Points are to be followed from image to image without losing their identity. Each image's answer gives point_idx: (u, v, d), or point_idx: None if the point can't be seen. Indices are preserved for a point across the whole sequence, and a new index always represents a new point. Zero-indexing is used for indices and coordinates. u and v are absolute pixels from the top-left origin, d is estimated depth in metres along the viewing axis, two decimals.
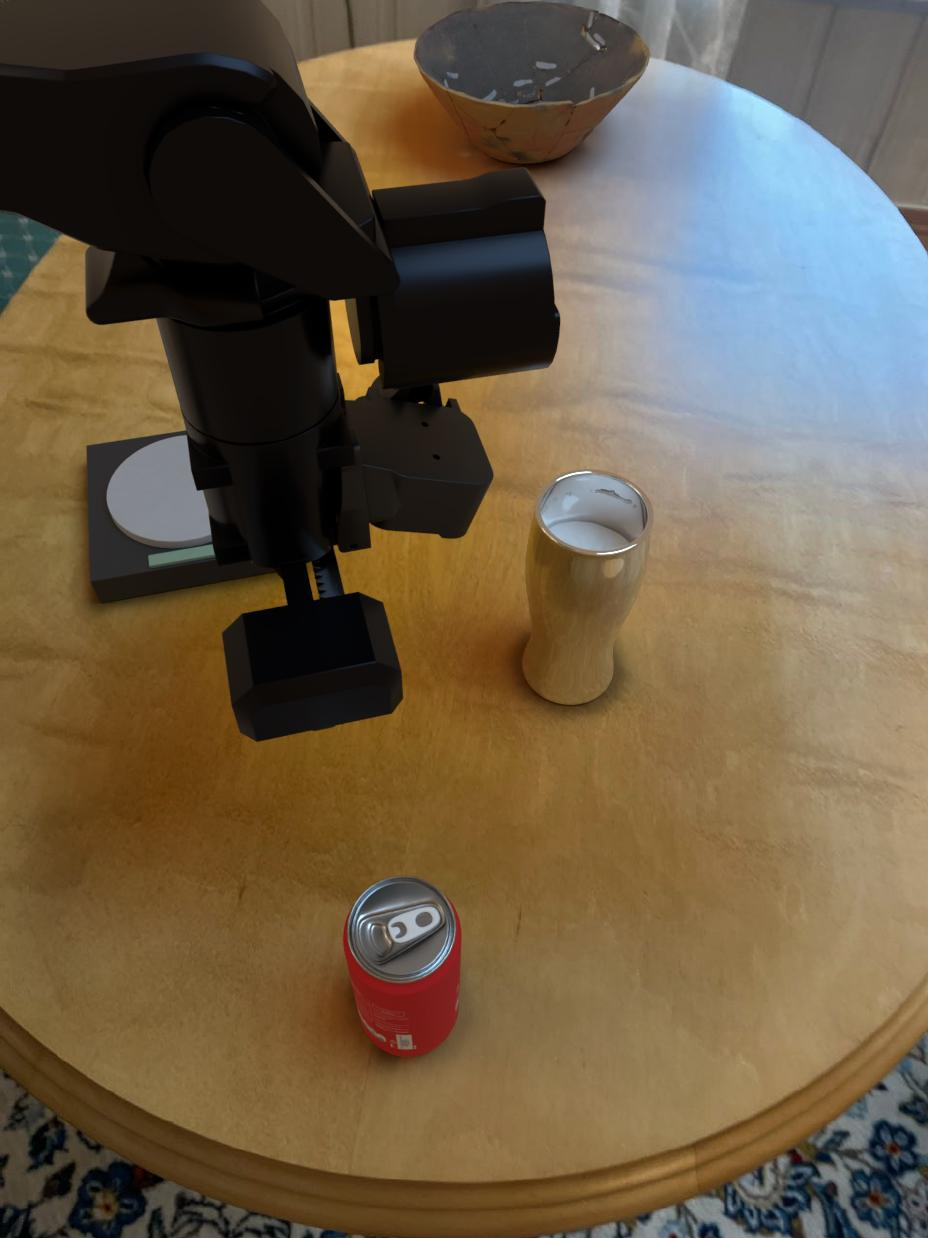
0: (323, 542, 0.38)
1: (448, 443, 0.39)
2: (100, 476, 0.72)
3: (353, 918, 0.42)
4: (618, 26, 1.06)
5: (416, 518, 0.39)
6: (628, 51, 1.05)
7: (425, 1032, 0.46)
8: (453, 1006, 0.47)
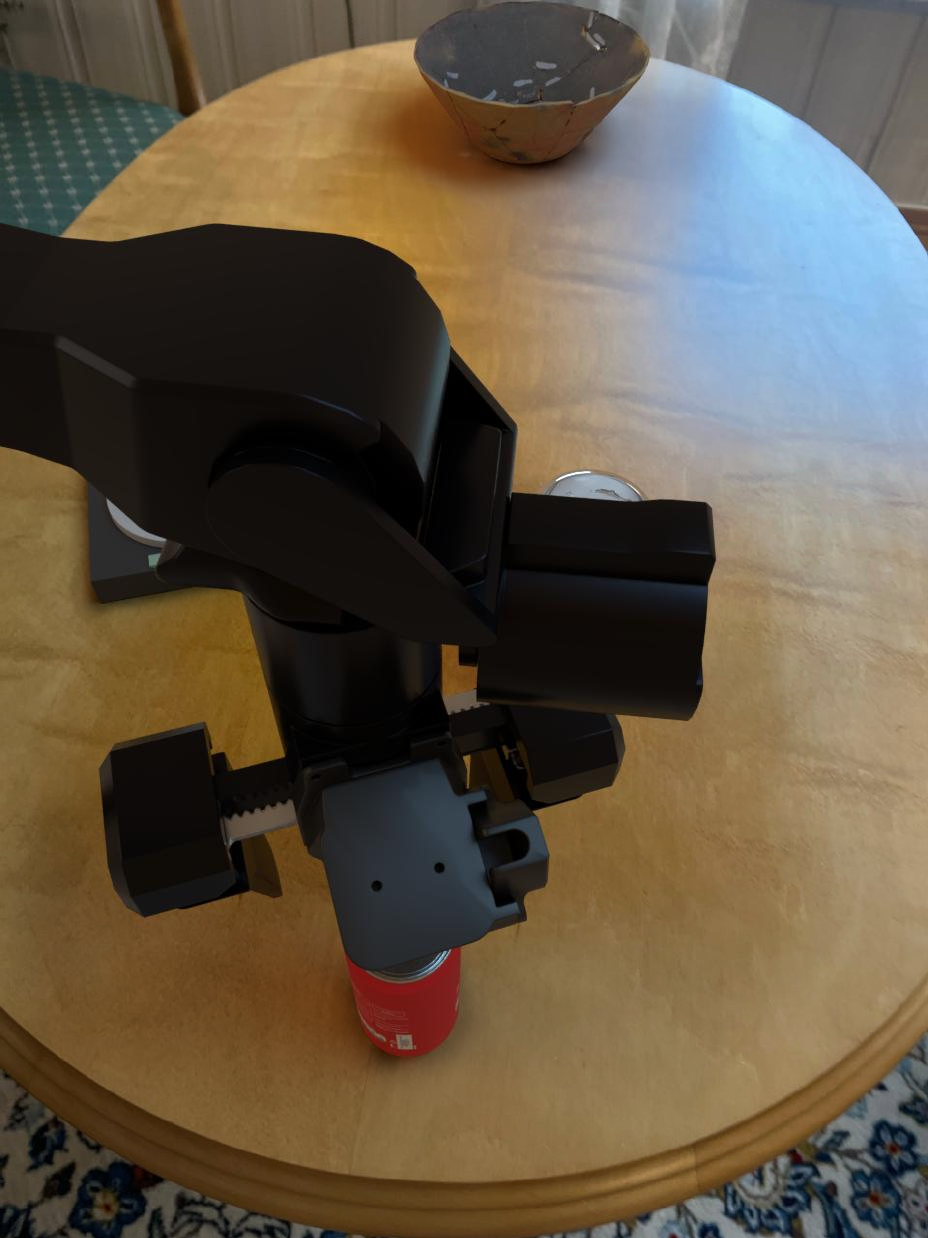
0: None
1: (412, 903, 0.30)
2: None
3: None
4: (618, 26, 1.06)
5: None
6: (628, 51, 1.05)
7: (425, 1032, 0.46)
8: (453, 1006, 0.47)
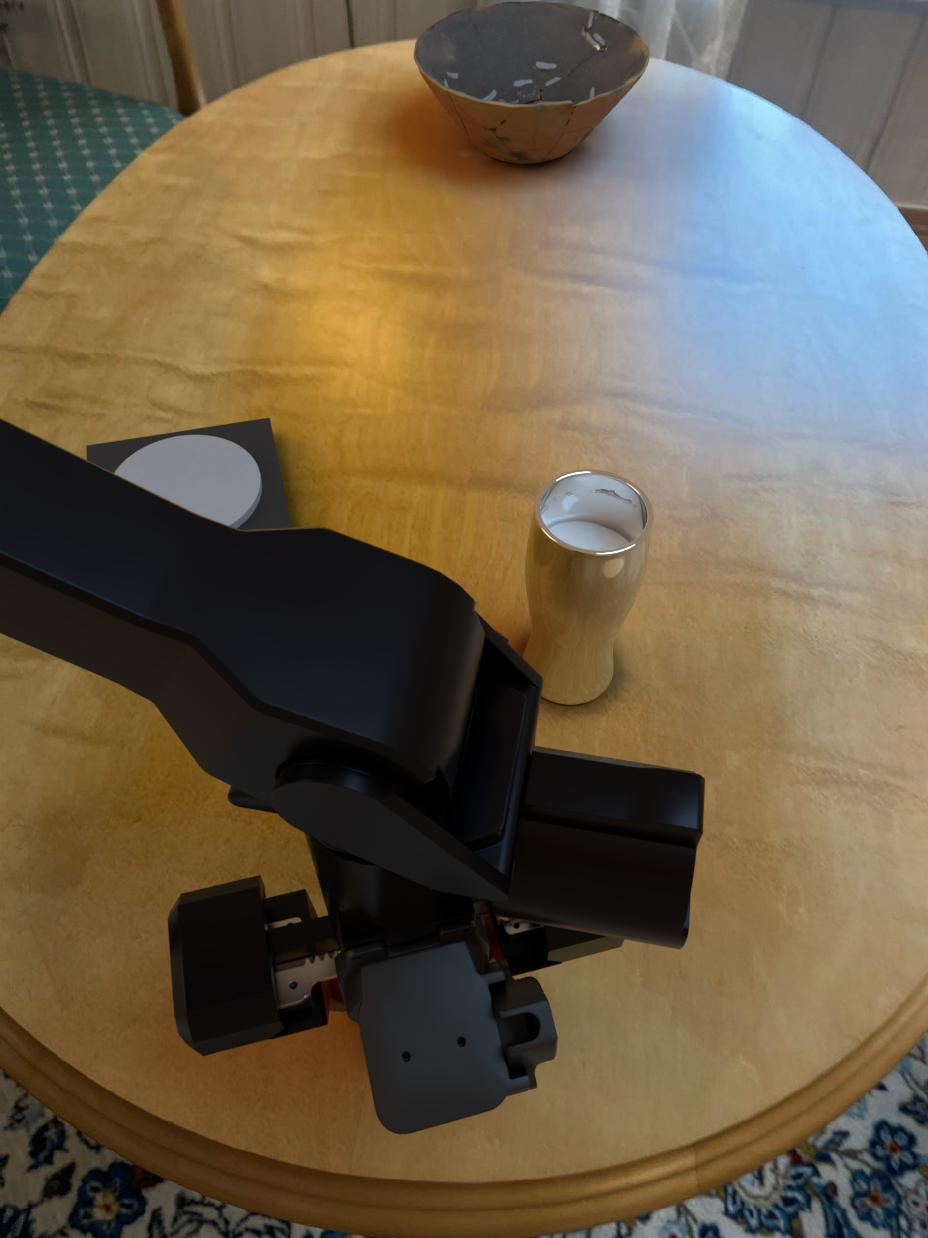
0: None
1: (437, 1073, 0.34)
2: None
3: None
4: (618, 26, 1.06)
5: None
6: (628, 51, 1.05)
7: None
8: None
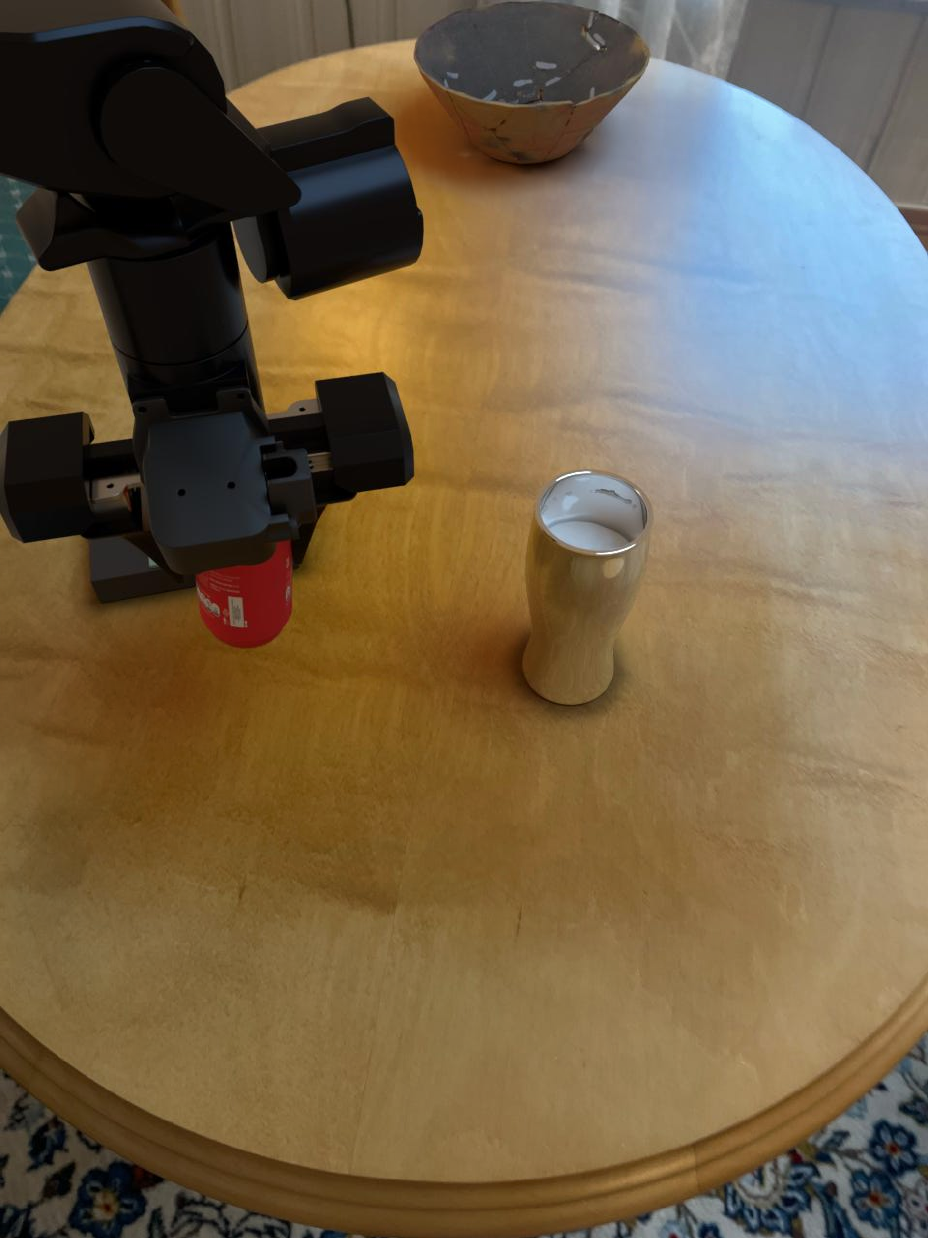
0: None
1: (207, 506, 0.39)
2: None
3: None
4: (618, 26, 1.06)
5: None
6: (628, 51, 1.05)
7: (255, 599, 0.51)
8: (283, 584, 0.52)
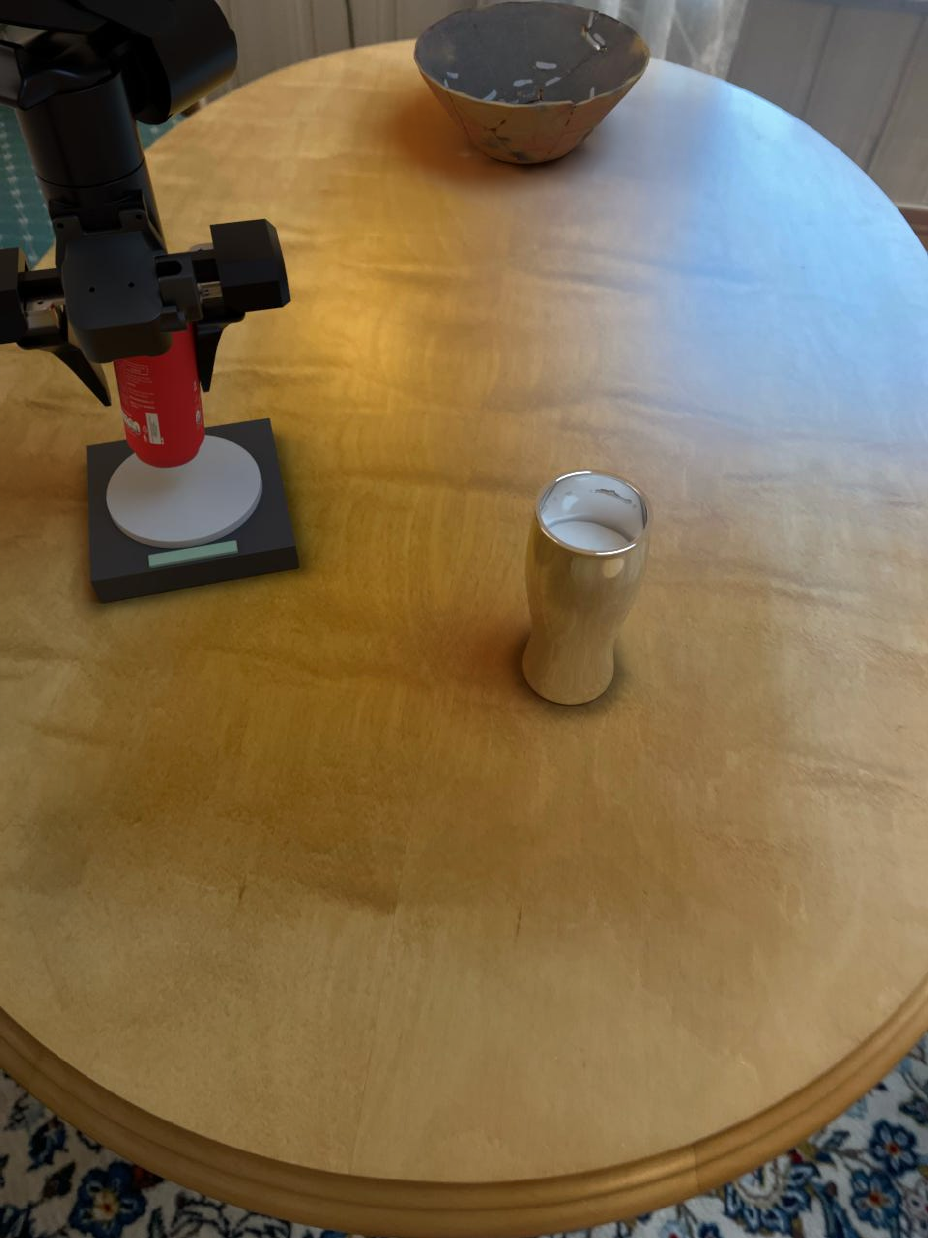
0: None
1: (112, 299, 0.50)
2: (100, 476, 0.72)
3: None
4: (618, 26, 1.06)
5: None
6: (628, 51, 1.05)
7: (168, 416, 0.62)
8: (192, 406, 0.63)
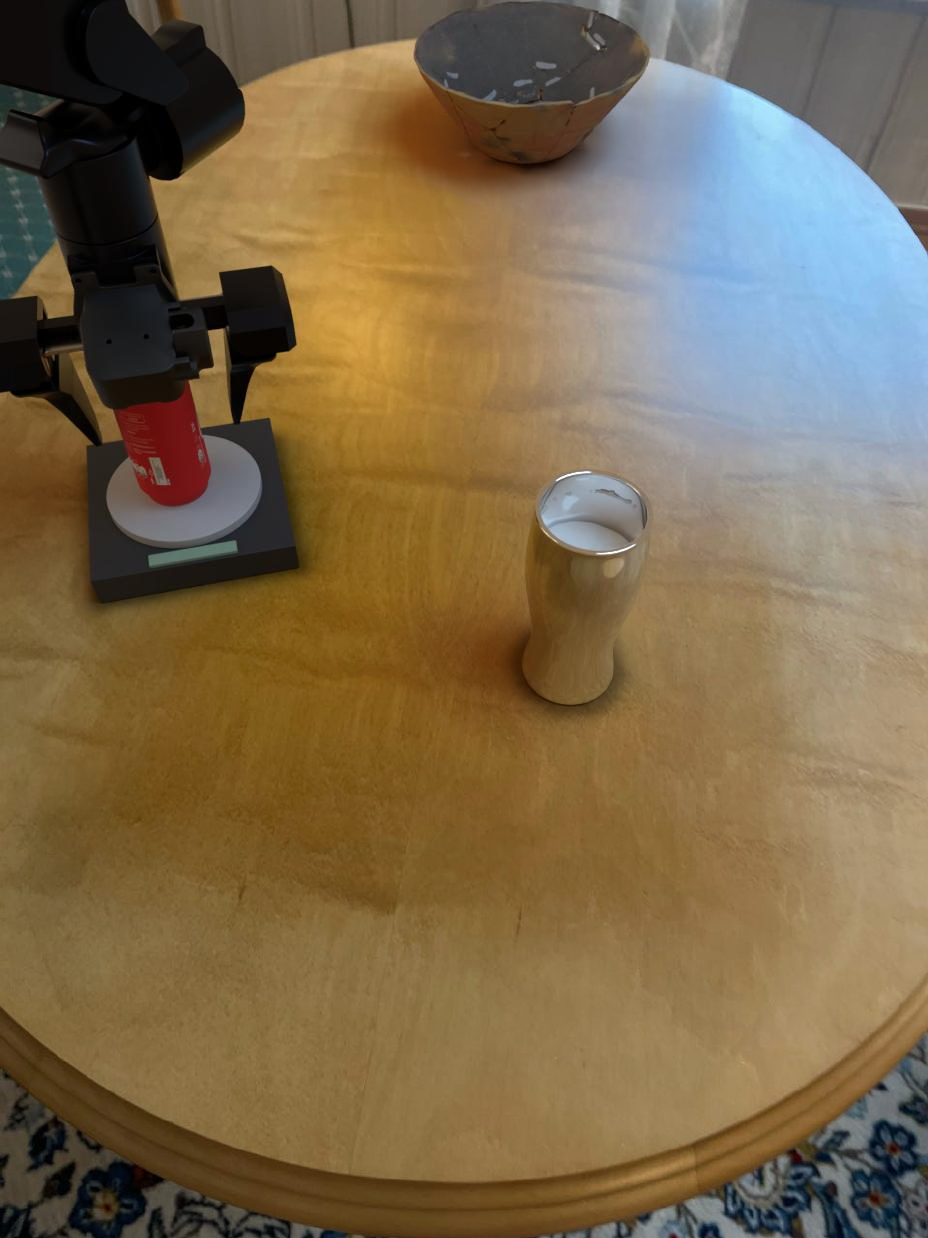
0: None
1: (128, 351, 0.53)
2: (100, 476, 0.72)
3: None
4: (618, 26, 1.06)
5: None
6: (628, 51, 1.05)
7: (170, 458, 0.65)
8: (193, 446, 0.66)
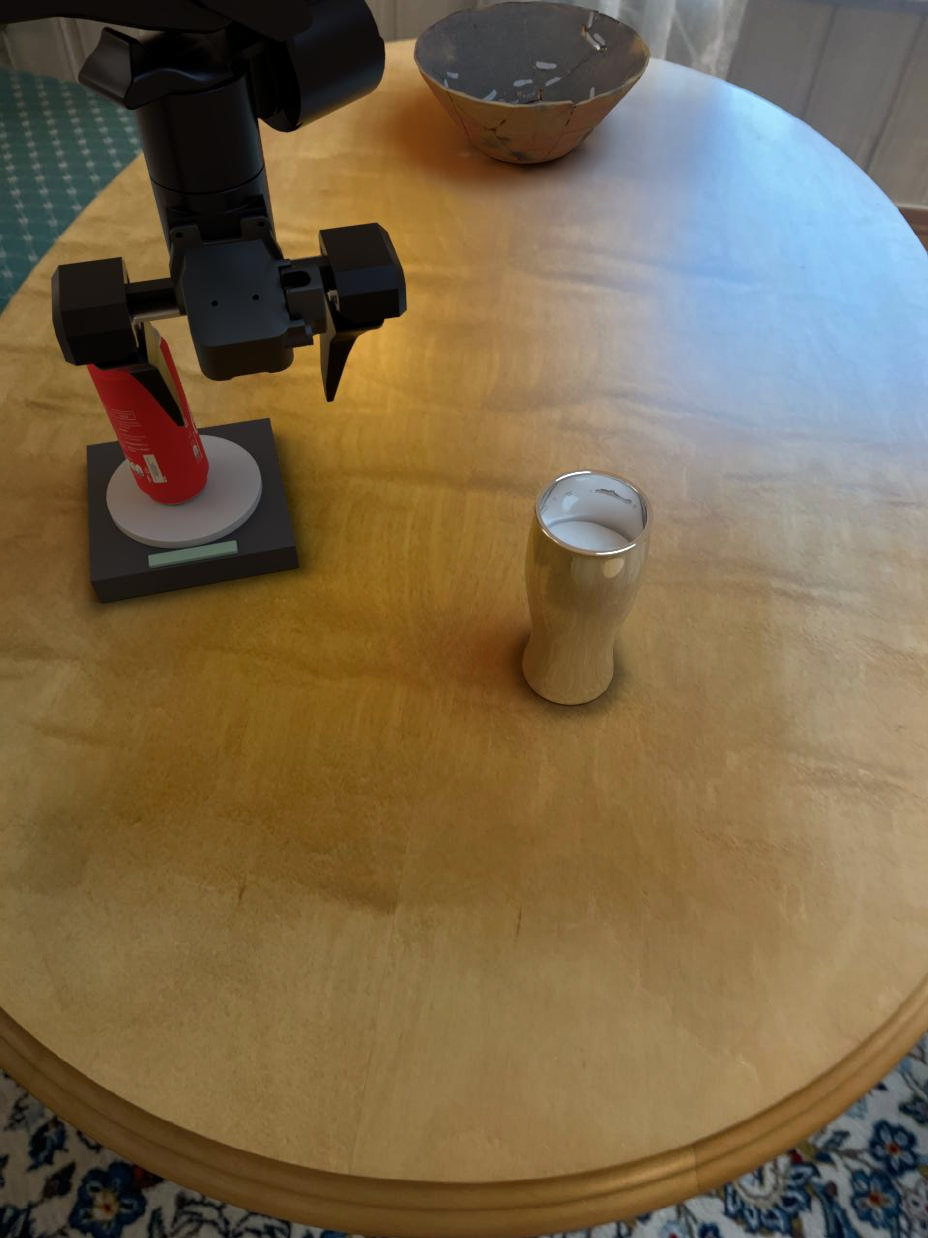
0: None
1: (236, 313, 0.47)
2: (100, 476, 0.72)
3: None
4: (618, 26, 1.06)
5: None
6: (628, 51, 1.05)
7: (164, 454, 0.65)
8: (187, 442, 0.66)
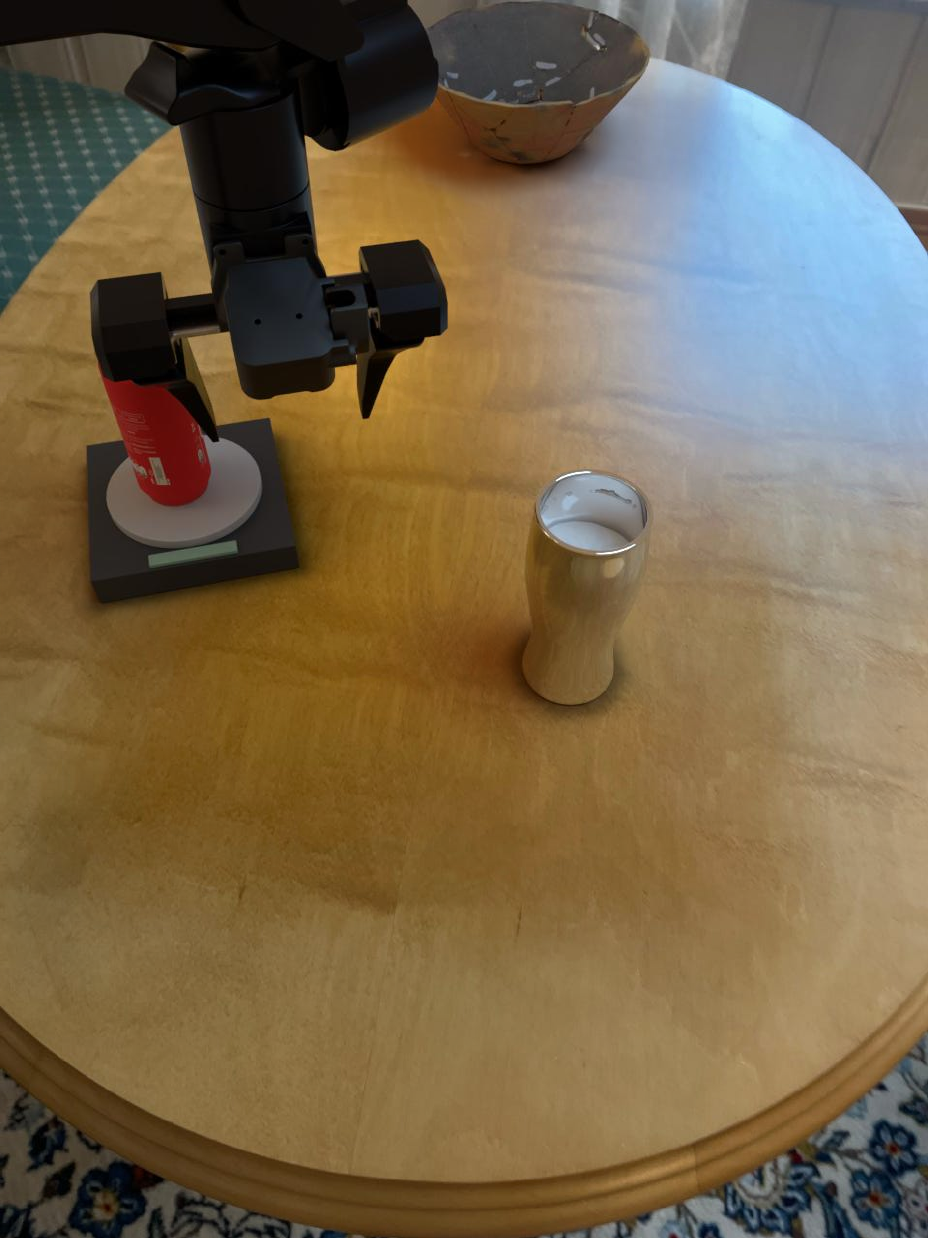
0: None
1: (279, 332, 0.47)
2: (100, 476, 0.72)
3: None
4: (618, 26, 1.06)
5: None
6: (628, 51, 1.05)
7: (170, 458, 0.65)
8: (193, 446, 0.66)
